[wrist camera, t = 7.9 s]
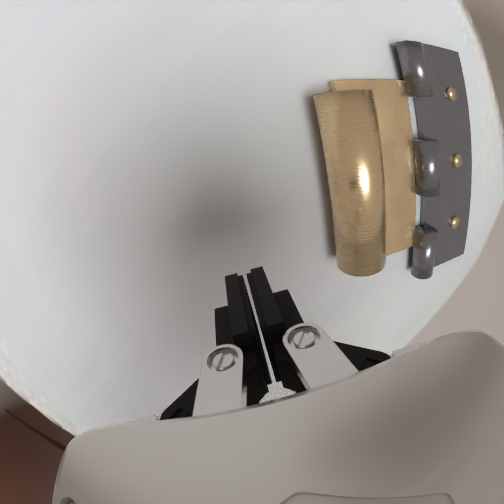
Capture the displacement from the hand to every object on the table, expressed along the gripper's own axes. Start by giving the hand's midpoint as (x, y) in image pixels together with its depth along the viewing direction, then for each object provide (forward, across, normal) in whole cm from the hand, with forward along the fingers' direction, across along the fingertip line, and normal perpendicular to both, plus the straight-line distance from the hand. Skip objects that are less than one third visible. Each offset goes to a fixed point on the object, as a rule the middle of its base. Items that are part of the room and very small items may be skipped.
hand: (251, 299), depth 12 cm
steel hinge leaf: (+10, -22, -2) cm, 25 cm away
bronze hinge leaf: (+10, -12, -2) cm, 16 cm away
